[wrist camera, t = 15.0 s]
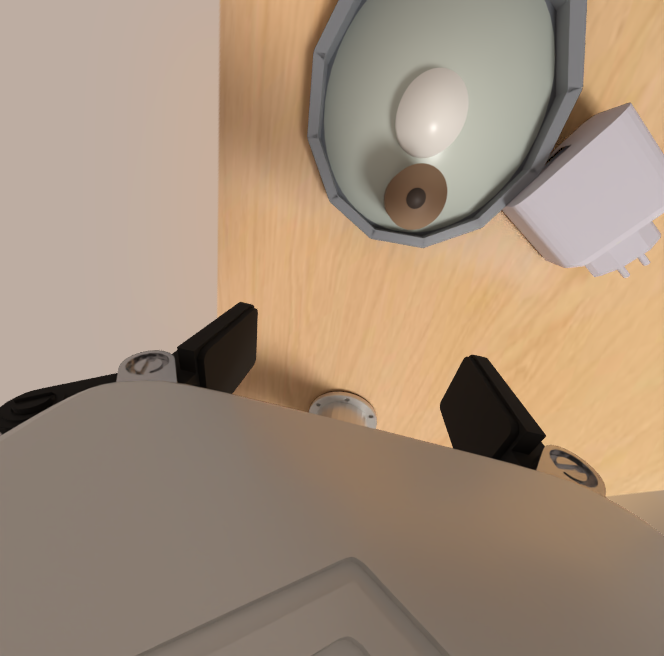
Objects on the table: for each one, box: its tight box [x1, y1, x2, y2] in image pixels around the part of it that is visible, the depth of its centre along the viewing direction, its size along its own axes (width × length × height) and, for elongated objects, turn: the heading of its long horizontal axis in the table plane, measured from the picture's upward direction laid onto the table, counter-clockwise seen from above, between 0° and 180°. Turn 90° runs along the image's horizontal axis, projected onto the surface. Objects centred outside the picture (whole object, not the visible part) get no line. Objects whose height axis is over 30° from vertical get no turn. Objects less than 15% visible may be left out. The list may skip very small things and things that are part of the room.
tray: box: [307, 0, 587, 248], centre depth 22 cm, size 22×22×2 cm
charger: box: [502, 103, 664, 278], centre depth 23 cm, size 5×9×15 cm
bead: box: [384, 163, 447, 230], centre depth 23 cm, size 5×5×6 cm
